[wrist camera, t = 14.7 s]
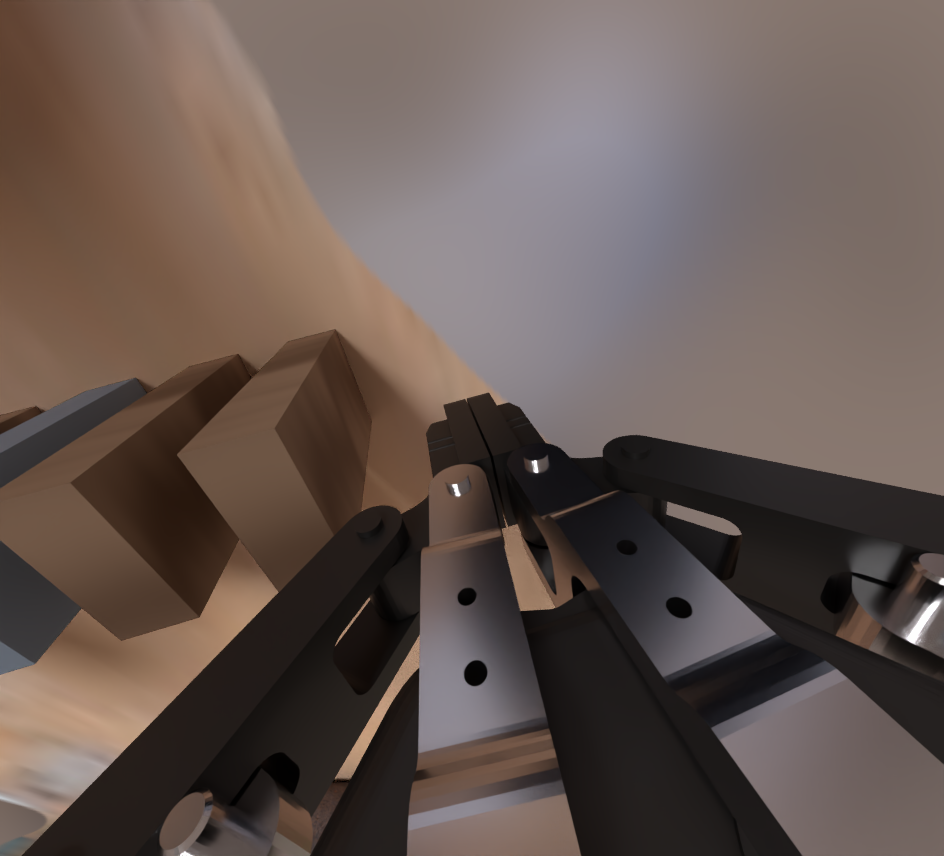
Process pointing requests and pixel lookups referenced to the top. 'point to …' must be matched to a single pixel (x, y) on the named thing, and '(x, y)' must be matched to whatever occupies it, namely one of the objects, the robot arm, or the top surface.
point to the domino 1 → (4, 572)
